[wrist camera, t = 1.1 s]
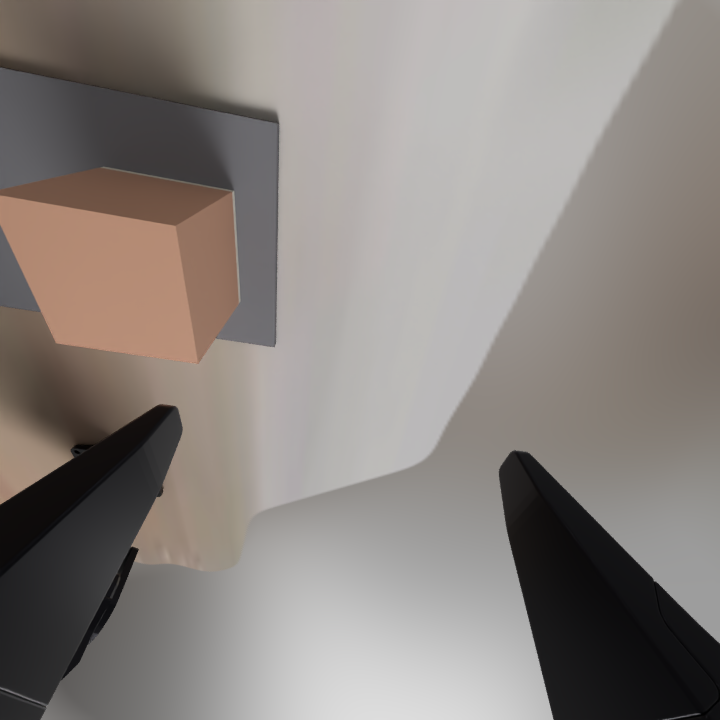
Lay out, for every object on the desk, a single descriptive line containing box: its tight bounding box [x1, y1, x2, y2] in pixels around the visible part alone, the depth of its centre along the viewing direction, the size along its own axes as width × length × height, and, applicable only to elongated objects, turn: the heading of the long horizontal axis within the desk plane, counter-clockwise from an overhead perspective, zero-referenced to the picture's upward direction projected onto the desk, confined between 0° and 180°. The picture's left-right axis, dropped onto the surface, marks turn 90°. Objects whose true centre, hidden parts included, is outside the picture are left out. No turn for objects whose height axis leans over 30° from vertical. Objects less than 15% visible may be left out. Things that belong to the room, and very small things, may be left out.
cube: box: [0, 167, 241, 364], centre depth 15 cm, size 6×6×6 cm
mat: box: [0, 67, 279, 347], centre depth 17 cm, size 12×22×1 cm, turn 81°
